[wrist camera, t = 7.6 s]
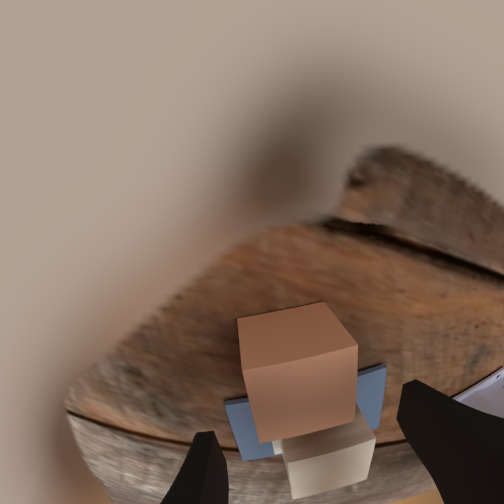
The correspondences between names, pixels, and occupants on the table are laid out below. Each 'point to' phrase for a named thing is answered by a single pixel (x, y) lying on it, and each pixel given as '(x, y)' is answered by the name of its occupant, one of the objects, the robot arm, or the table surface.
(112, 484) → the table surface
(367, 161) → the table surface
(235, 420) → the blue flat board
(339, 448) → the cream block
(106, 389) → the table surface
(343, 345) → the terracotta block
